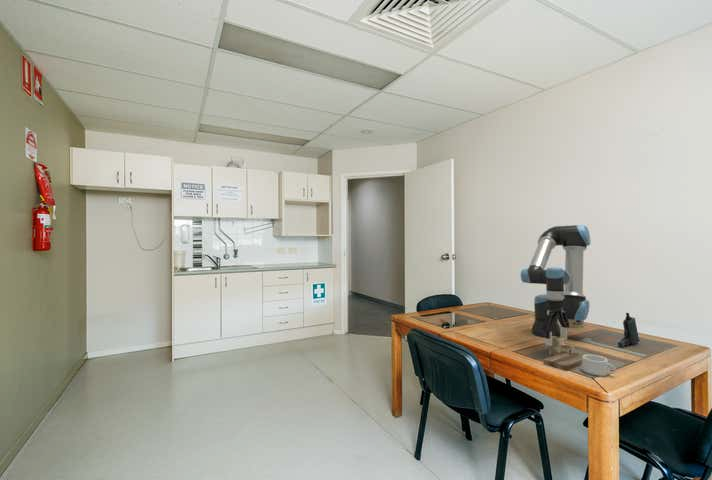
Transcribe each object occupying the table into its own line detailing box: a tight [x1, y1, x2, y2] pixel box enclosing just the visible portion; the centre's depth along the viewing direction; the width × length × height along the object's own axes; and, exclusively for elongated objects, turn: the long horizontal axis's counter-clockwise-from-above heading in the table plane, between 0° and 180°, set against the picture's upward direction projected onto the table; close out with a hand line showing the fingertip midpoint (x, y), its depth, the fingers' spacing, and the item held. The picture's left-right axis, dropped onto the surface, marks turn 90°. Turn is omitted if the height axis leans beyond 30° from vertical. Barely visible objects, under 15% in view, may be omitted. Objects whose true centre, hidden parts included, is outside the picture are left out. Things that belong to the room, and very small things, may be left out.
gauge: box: [548, 336, 575, 356], centre depth 159 cm, size 10×5×8 cm, turn 31°
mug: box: [580, 354, 617, 377], centre depth 139 cm, size 12×10×6 cm
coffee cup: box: [568, 319, 585, 329], centre depth 208 cm, size 9×9×12 cm
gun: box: [617, 312, 641, 349], centre depth 170 cm, size 3×17×15 cm
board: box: [543, 350, 584, 372], centre depth 151 cm, size 10×20×2 cm, turn 121°
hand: (556, 342), depth 161 cm, fingers open, 13 cm apart
